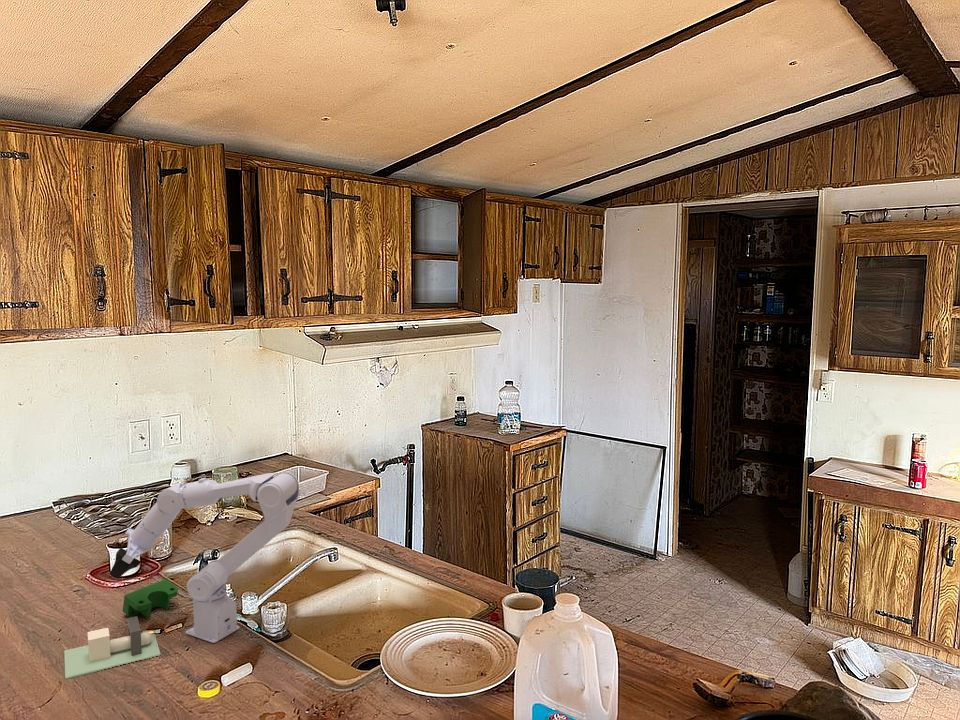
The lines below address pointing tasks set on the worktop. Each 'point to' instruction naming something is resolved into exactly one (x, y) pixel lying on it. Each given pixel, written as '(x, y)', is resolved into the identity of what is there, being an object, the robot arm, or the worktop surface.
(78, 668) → the mat
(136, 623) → the loop
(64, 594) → the worktop surface
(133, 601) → the clamp
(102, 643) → the cream mallet
